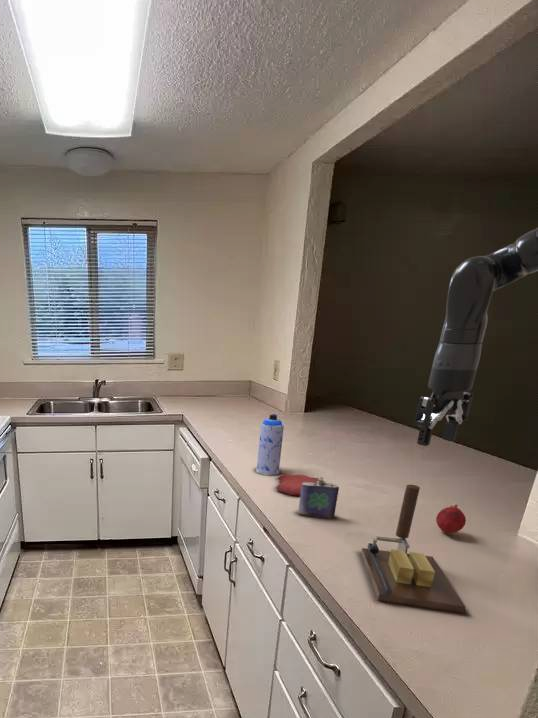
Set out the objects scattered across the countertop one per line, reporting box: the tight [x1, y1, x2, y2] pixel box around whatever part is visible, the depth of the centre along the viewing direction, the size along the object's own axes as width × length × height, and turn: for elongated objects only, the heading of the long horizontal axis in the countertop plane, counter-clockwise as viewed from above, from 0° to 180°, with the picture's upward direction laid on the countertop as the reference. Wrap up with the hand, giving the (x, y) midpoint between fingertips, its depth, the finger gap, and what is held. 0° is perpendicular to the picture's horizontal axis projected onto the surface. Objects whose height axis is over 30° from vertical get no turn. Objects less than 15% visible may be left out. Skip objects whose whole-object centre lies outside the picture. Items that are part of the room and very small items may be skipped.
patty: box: [276, 473, 319, 497], centre depth 136 cm, size 18×14×2 cm
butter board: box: [360, 547, 466, 614], centre depth 88 cm, size 14×18×5 cm
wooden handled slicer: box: [367, 484, 421, 554], centre depth 92 cm, size 8×6×16 cm
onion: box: [435, 503, 467, 535], centre depth 106 cm, size 6×6×8 cm
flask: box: [297, 476, 340, 519], centre depth 116 cm, size 9×3×11 cm, turn 75°
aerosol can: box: [255, 413, 285, 476], centre depth 148 cm, size 8×8×20 cm
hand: (435, 442), depth 94 cm, fingers open, 8 cm apart
